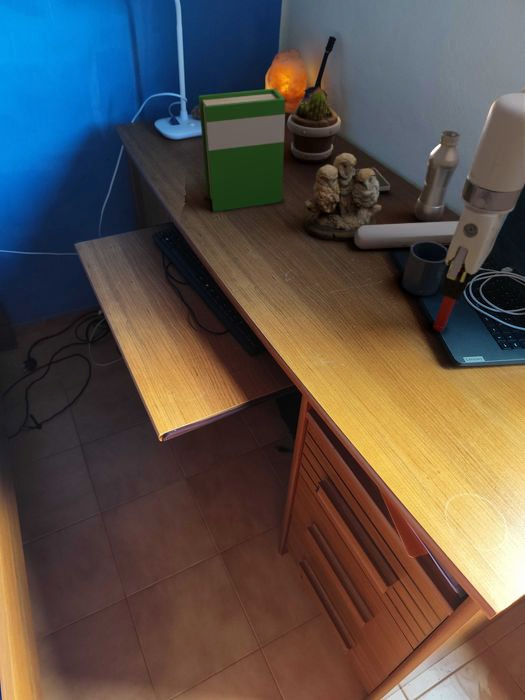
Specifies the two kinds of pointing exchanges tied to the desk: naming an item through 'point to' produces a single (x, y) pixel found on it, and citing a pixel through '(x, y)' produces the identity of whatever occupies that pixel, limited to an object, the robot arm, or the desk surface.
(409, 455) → the desk surface
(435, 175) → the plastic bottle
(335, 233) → the owl figurine
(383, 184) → the external hard drive
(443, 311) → the red cylindrical rod
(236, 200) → the hardback book
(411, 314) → the desk surface
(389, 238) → the tube
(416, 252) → the tumbler
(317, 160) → the flowerpot
